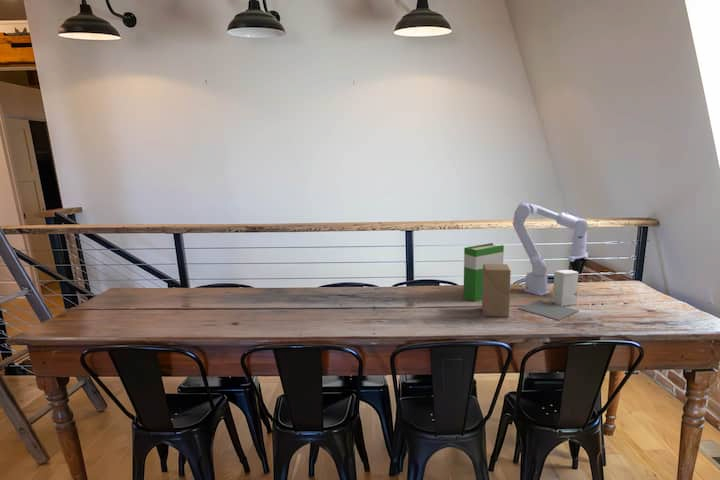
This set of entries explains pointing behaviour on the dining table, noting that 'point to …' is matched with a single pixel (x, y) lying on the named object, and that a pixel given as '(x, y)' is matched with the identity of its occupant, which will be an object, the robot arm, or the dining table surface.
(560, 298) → the skincare box
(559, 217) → the robot arm
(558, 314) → the mat
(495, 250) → the hardback book
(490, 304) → the wooden block
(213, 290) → the dining table surface
